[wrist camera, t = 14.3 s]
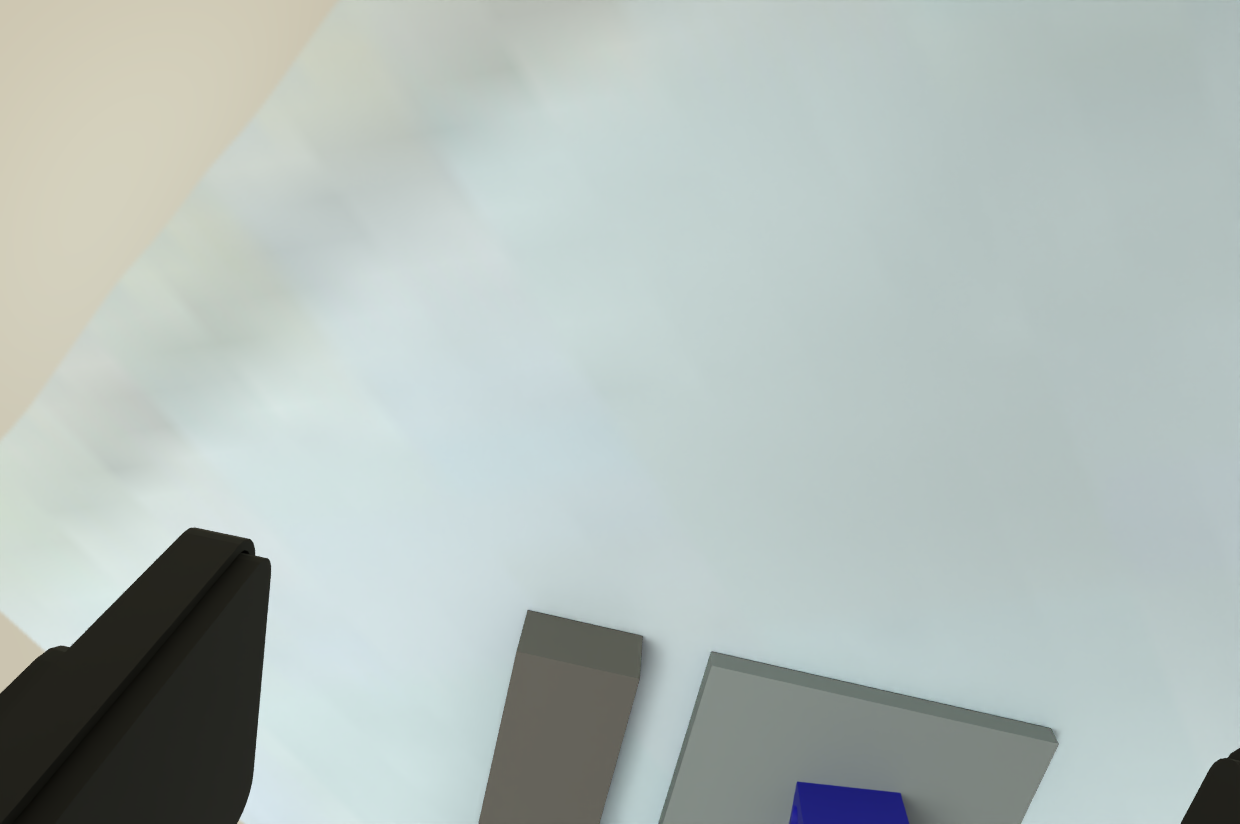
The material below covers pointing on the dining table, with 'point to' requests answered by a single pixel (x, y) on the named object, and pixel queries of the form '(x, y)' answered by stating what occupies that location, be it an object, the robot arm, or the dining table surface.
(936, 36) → the dining table surface
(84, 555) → the dining table surface
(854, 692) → the slate mat
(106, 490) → the dining table surface
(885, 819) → the blue curved block
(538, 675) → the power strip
